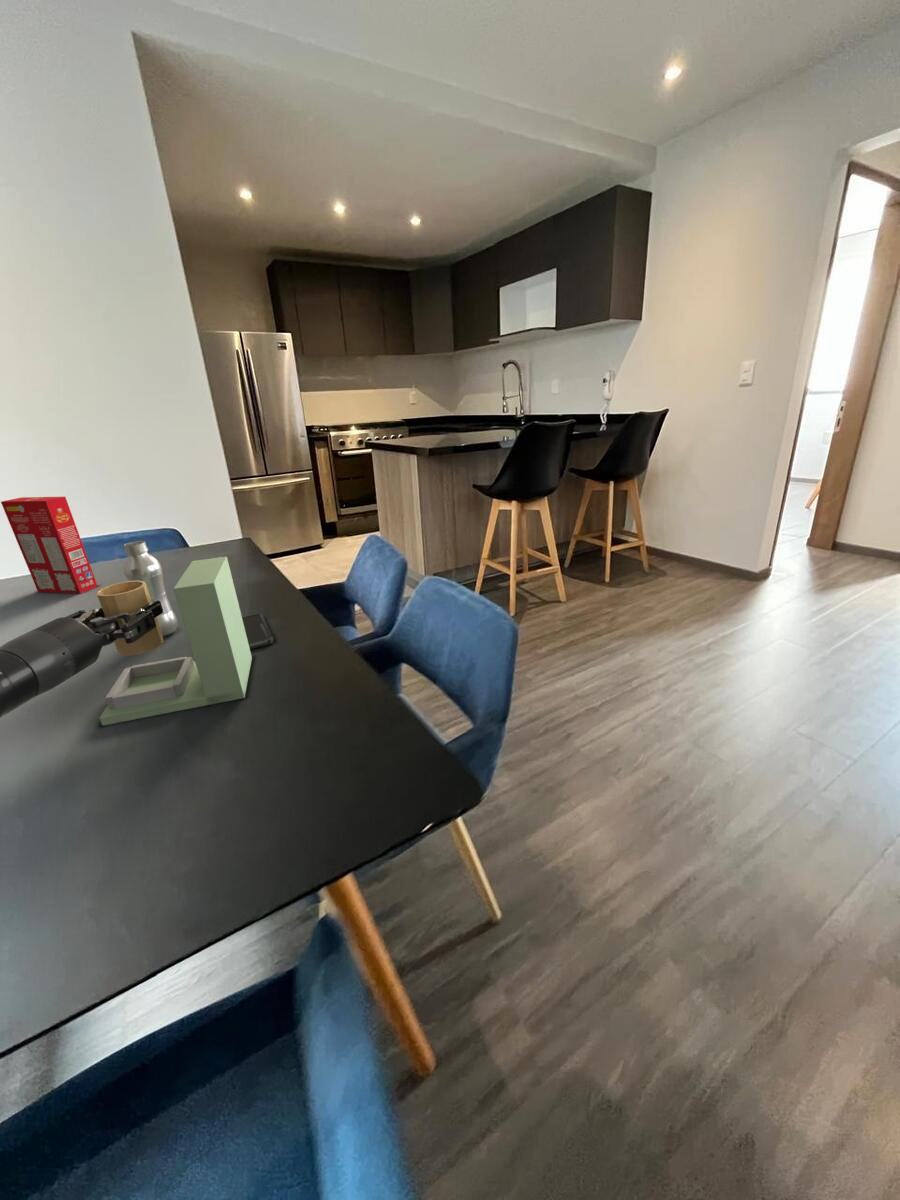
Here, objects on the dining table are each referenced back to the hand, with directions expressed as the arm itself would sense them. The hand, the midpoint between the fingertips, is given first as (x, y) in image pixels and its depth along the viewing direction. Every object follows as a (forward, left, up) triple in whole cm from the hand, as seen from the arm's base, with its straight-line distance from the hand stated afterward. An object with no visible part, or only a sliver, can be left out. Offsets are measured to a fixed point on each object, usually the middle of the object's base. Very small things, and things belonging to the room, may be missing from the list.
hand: (140, 606), depth 78 cm
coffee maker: (+3, -2, -15) cm, 16 cm away
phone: (+12, +16, -15) cm, 25 cm away
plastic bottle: (-6, +24, -15) cm, 29 cm away
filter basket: (-1, -2, -6) cm, 6 cm away
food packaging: (-40, +68, -15) cm, 80 cm away
